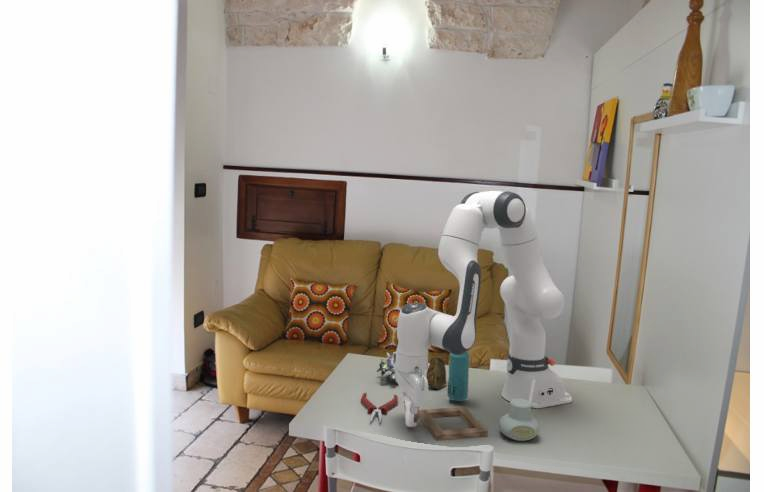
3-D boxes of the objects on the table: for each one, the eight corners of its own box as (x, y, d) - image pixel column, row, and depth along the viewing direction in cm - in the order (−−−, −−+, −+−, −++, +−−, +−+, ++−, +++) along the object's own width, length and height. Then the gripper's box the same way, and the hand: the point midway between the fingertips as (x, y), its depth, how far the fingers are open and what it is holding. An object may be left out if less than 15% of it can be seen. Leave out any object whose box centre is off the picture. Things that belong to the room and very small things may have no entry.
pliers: (355, 425, 176) (355, 417, 175) (361, 398, 195) (362, 390, 195) (395, 428, 175) (395, 419, 175) (398, 401, 195) (398, 393, 194)
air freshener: (533, 430, 176) (536, 397, 175) (541, 443, 168) (544, 408, 166) (495, 429, 176) (497, 395, 174) (501, 442, 168) (504, 407, 166)
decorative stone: (426, 356, 205) (435, 356, 203) (444, 356, 212) (452, 357, 209) (424, 388, 204) (433, 389, 202) (442, 387, 211) (450, 388, 208)
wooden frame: (464, 411, 187) (464, 406, 187) (487, 436, 171) (488, 431, 171) (417, 414, 184) (417, 409, 183) (436, 440, 167) (436, 435, 167)
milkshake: (400, 421, 176) (401, 387, 175) (419, 421, 176) (420, 387, 175) (400, 427, 172) (401, 393, 171) (419, 428, 172) (420, 393, 170)
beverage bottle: (470, 400, 196) (473, 339, 193) (463, 407, 190) (467, 344, 187) (450, 396, 199) (454, 336, 196) (443, 403, 193) (447, 341, 190)
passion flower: (399, 398, 209) (399, 378, 201) (370, 387, 213) (369, 367, 204) (412, 372, 217) (412, 352, 208) (384, 362, 220) (383, 342, 212)
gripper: (435, 373, 162) (433, 423, 164) (412, 349, 182) (410, 394, 184) (412, 375, 160) (410, 425, 163) (391, 350, 180) (390, 396, 182)
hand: (410, 409), depth 173 cm, fingers closed on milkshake, 4 cm apart
